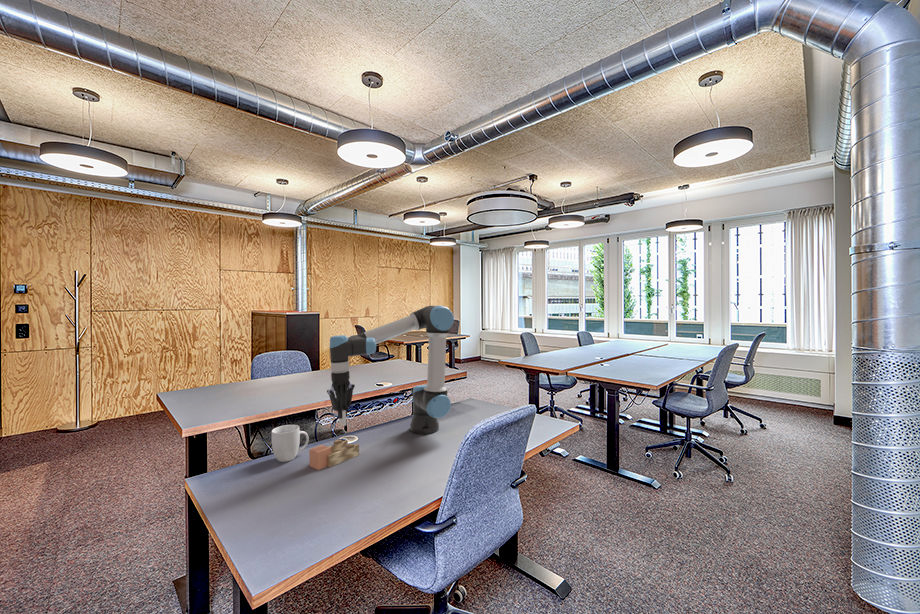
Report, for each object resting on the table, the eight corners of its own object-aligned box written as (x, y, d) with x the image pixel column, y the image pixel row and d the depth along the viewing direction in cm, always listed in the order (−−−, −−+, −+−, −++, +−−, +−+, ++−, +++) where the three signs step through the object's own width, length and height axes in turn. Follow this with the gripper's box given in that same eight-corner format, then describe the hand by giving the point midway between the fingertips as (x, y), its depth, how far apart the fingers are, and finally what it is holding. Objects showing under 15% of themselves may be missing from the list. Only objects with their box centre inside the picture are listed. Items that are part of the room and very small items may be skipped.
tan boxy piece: (345, 449, 170) (345, 437, 170) (360, 454, 164) (359, 442, 164) (315, 461, 158) (315, 448, 158) (330, 467, 152) (330, 453, 151)
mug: (305, 449, 171) (304, 420, 171) (312, 456, 163) (312, 427, 162) (269, 458, 162) (268, 428, 161) (275, 466, 153) (274, 435, 153)
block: (322, 461, 158) (322, 444, 158) (331, 464, 154) (330, 447, 154) (309, 466, 153) (309, 449, 153) (318, 470, 149) (317, 452, 149)
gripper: (347, 367, 169) (349, 419, 170) (321, 373, 158) (324, 428, 159) (357, 369, 165) (360, 422, 165) (332, 375, 154) (335, 431, 155)
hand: (343, 425), depth 162 cm, fingers closed
